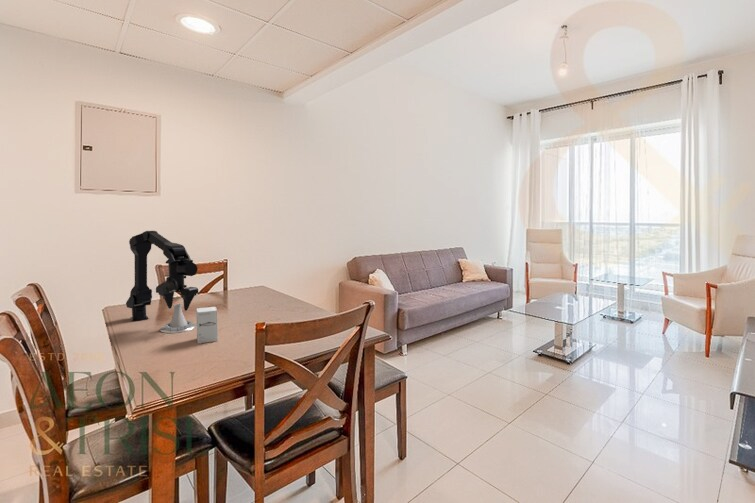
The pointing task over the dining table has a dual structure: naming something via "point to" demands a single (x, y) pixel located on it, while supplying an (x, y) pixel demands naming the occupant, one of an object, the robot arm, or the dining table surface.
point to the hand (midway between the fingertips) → (177, 309)
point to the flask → (178, 317)
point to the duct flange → (178, 328)
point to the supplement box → (206, 324)
